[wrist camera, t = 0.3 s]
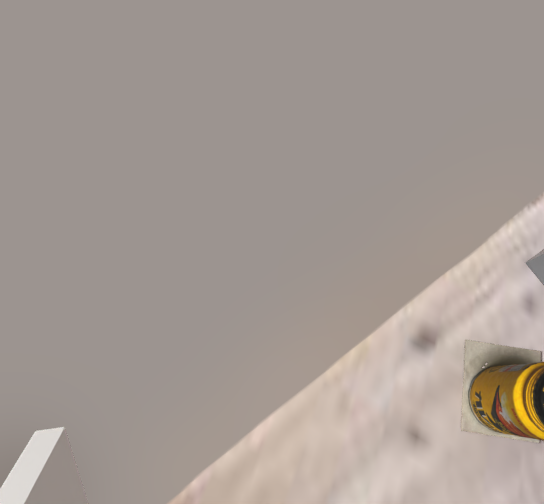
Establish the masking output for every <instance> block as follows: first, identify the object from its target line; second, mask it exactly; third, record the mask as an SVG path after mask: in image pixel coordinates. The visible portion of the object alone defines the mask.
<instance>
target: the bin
mask: <svg viewBox="0 0 544 504" xmlns="http://www.w3.org/2000/svg"><path fill="white" fill-rule="evenodd" d="M526 264H527V265H528V267H529V268H530V269H531V270H532V271H533V273H534V274H535V275H536V276H537V277H538V279H539V280H540V281H541V282H542V283H543V285H544V250H542V251H541V252H539V253H538V254H537V255H535V256H534V257H533V258H531V259H530V260H528V261H527V262H526Z"/></svg>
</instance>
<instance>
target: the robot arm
mask: <svg viewBox="0 0 544 504" xmlns="http://www.w3.org/2000/svg"><path fill="white" fill-rule="evenodd" d="M0 504H88V500H87V498H86V494H85V491H84V487H83V484H82V481H81V478H80V475H79V471H78V468H77V465H76V462H75V459H74V455H73V452H72V449H71V445H70V442H69V439H68V436H67V433H66V429H65V427H61V428H54V429H48V430H40V431H35V433H34V434H33V436H32V438H31V439H30V441H29V443H28V444H27V446H26V448H25V449H24V451H23V452H22V454H21V456H20V458H19V459H18V461H17V462H16V464H15V466H14V467H13V469H12V471H11V472H10V474H9V475H8V477H7V479H6V480H5V482H4V484H3V485H2V487H1V488H0Z"/></svg>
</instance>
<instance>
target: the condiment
mask: <svg viewBox="0 0 544 504" xmlns="http://www.w3.org/2000/svg"><path fill="white" fill-rule="evenodd" d="M464 357H465V361H464V378H463V391H462V416H461V431H466V432H472V433H479V434H485V435H491V436H498V437H504V438H510V439H517V440H523V441H529V442H536V443H540V440H544V362H541V351H536V350H529V349H522V348H515V347H508V346H502V345H495V344H489V343H483V342H477V341H470V340H465V355H464ZM485 363H488V364H487V365H485ZM483 366H485V368H482V367H483Z"/></svg>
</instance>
